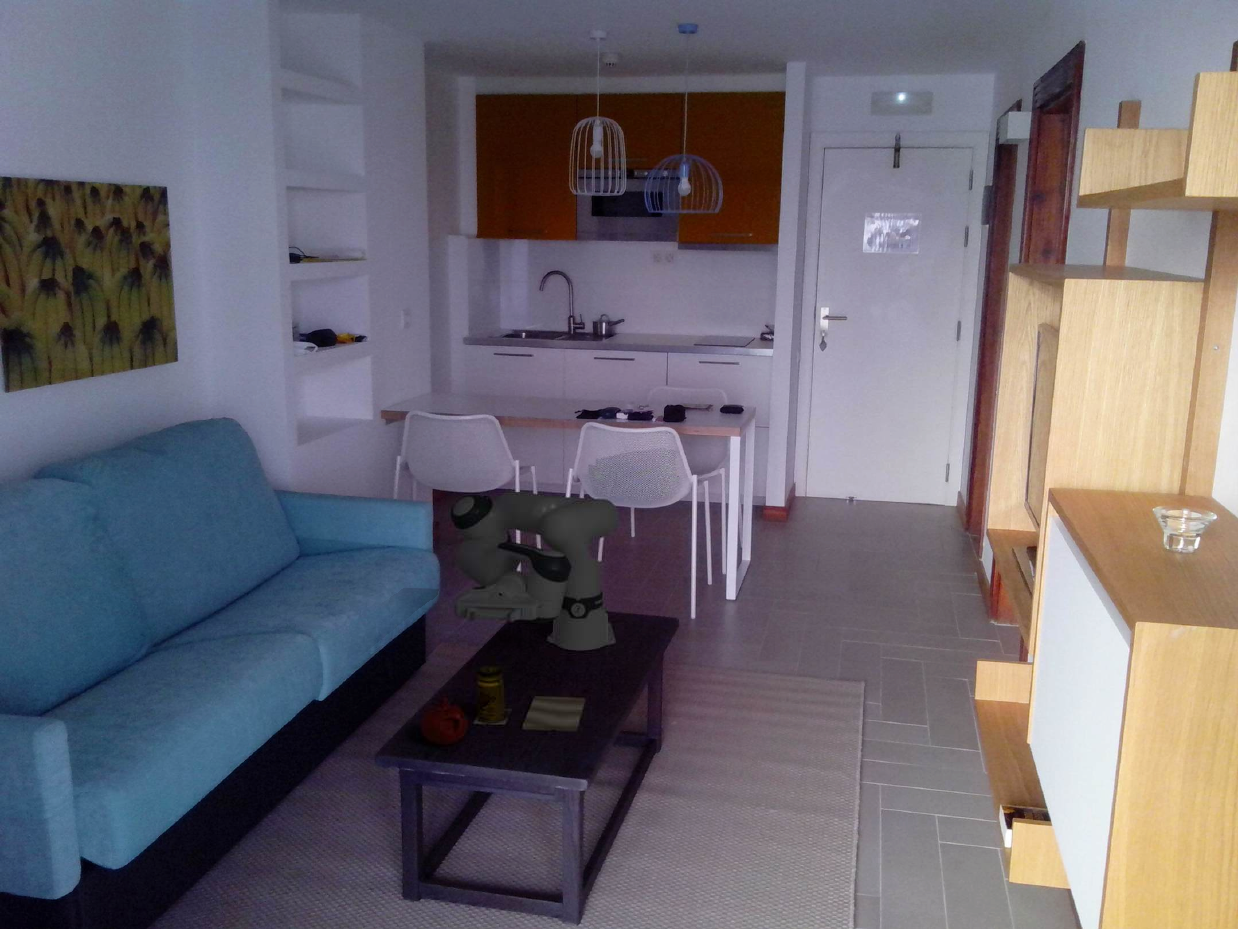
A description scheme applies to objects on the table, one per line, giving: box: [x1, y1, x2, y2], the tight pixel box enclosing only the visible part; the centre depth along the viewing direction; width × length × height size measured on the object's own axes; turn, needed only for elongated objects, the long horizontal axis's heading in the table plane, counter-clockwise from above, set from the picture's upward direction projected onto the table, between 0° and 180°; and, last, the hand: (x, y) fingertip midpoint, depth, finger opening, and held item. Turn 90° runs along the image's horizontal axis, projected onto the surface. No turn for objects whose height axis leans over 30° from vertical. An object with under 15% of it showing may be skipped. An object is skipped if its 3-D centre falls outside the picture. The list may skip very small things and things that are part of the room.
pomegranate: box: [420, 697, 468, 746], centre depth 227 cm, size 10×10×9 cm
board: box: [522, 695, 586, 732], centre depth 239 cm, size 16×12×1 cm
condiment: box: [473, 664, 513, 726], centre depth 238 cm, size 7×8×12 cm
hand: (489, 618), depth 246 cm, fingers open, 8 cm apart
